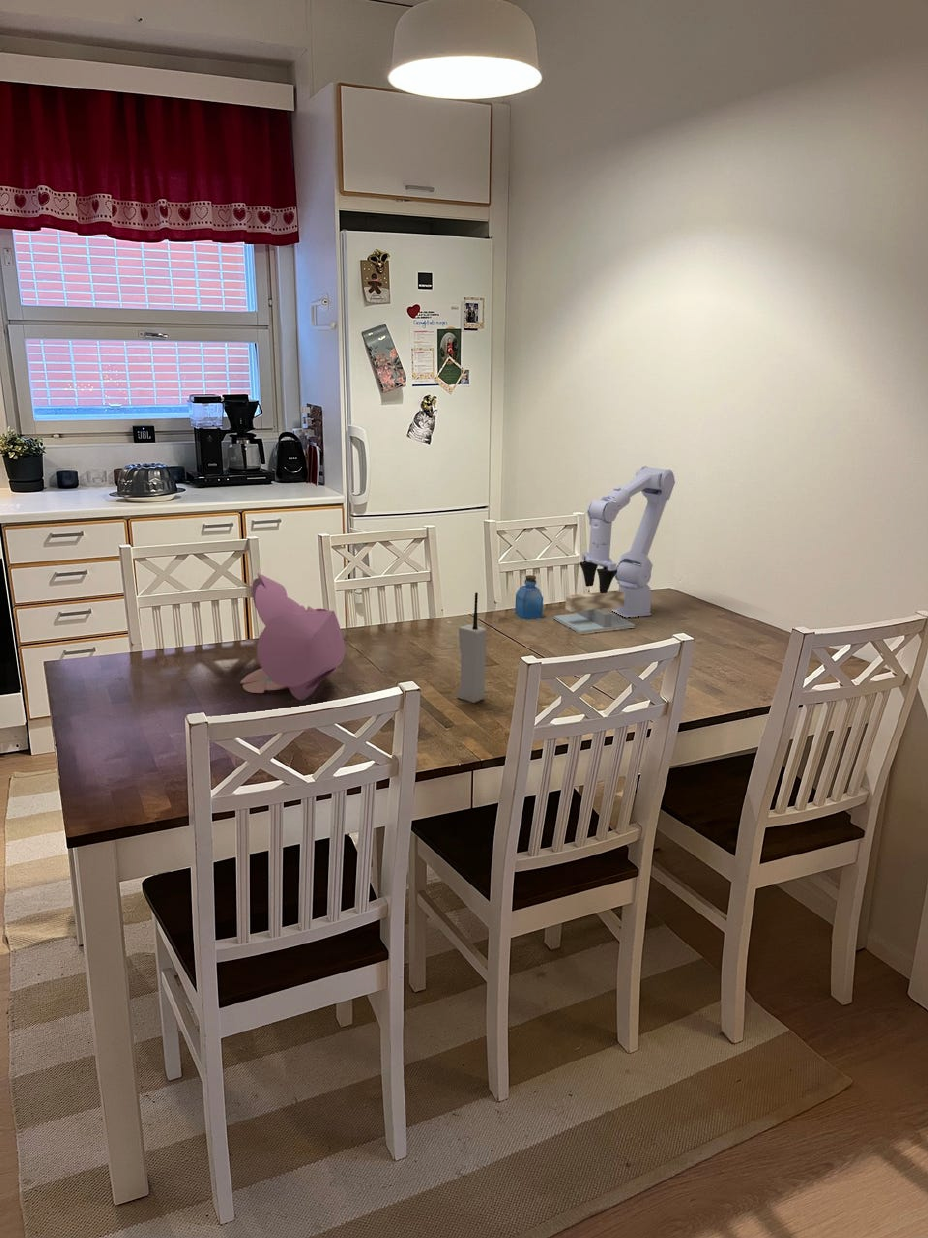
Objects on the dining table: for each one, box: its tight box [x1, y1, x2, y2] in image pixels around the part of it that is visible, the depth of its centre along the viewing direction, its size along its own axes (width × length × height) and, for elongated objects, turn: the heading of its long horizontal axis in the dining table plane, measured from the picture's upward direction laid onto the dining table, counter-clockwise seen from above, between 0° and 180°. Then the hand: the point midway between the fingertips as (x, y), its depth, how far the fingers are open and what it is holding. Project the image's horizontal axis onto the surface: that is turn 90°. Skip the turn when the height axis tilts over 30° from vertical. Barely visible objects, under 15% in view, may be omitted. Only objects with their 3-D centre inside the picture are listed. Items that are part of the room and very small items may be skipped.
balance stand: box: [553, 608, 636, 633], centre depth 265 cm, size 18×15×5 cm
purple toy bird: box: [240, 572, 346, 701], centre depth 209 cm, size 35×24×28 cm
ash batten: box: [564, 589, 625, 613], centre depth 263 cm, size 18×3×4 cm, turn 115°
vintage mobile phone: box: [456, 591, 488, 704], centre depth 204 cm, size 4×5×25 cm
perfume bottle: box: [514, 574, 544, 620], centre depth 270 cm, size 6×6×12 cm
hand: (596, 589), depth 262 cm, fingers open, 7 cm apart
